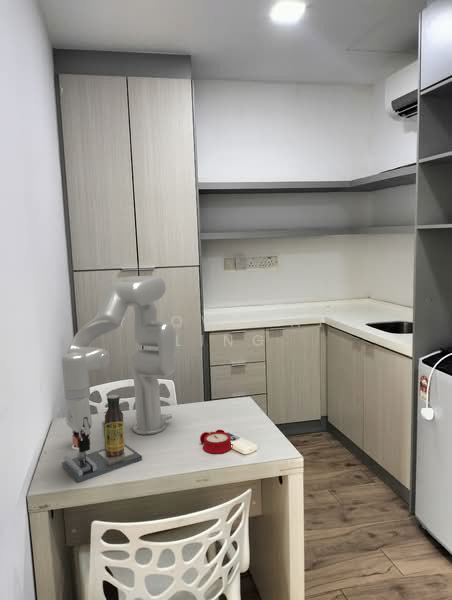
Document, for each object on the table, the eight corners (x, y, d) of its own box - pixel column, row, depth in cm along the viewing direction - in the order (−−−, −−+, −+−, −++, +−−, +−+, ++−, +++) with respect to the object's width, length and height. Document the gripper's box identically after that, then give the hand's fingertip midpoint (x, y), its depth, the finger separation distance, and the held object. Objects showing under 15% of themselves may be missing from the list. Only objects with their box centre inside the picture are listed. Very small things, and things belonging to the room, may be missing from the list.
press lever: (86, 464, 152) (84, 431, 151) (92, 469, 148) (90, 435, 147) (74, 468, 150) (71, 434, 148) (80, 473, 146) (77, 439, 144)
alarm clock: (208, 448, 156) (195, 423, 170) (208, 463, 159) (195, 437, 172) (237, 442, 160) (222, 418, 173) (236, 457, 162) (222, 432, 175)
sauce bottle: (106, 458, 155) (101, 400, 153) (105, 450, 161) (101, 394, 159) (126, 455, 157) (122, 398, 154) (125, 447, 163) (121, 392, 160)
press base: (123, 446, 168) (121, 415, 167) (142, 460, 157) (139, 427, 156) (62, 466, 155) (59, 433, 153) (78, 482, 144) (75, 447, 142)
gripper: (56, 389, 150) (61, 443, 152) (75, 402, 137) (80, 461, 139) (79, 384, 155) (83, 437, 157) (99, 396, 142) (104, 453, 144)
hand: (81, 447), depth 148 cm, fingers closed on press lever, 4 cm apart
